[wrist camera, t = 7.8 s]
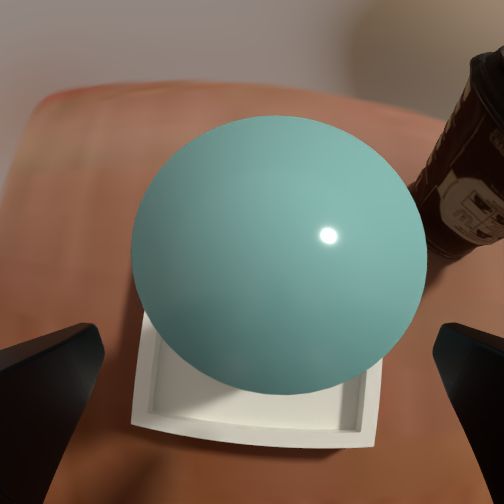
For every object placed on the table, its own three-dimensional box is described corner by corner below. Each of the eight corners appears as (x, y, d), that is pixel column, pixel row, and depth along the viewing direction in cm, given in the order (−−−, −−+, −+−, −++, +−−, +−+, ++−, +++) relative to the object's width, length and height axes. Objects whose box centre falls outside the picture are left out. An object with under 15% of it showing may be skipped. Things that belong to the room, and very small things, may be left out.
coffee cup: (497, 280, 18) (633, 198, 6) (400, 278, 18) (549, 154, 6) (475, 174, 21) (564, 63, 9) (385, 158, 21) (457, 6, 9)
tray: (360, 438, 15) (373, 446, 13) (145, 418, 16) (130, 424, 14) (369, 236, 19) (381, 221, 17) (174, 219, 20) (165, 202, 18)
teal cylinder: (290, 388, 15) (376, 436, 4) (201, 351, 16) (82, 310, 5) (324, 301, 17) (441, 172, 5) (239, 268, 17) (213, 91, 6)
